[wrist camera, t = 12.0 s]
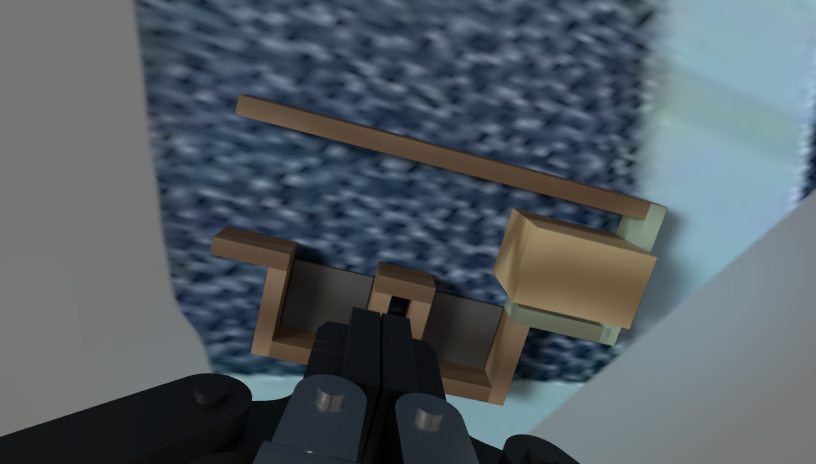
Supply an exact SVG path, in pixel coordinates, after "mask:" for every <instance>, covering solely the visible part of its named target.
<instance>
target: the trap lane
mask: <svg viewBox="0 0 816 464" xmlns="http://www.w3.org/2000/svg"><path fill="white" fill-rule="evenodd" d="M236 114H237V115H240V116H244V117H248V118H252V119H256V120H260V121H264V122H267V123H271V124H275V125H279V126H283V127H287V128H291V129H294V130H298V131H302V132H306V133H310V134H314V135H318V136H321V137H325V138H329V139H333V140H337V141H341V142H345V143H348V144H352V145H356V146H360V147H364V148H368V149H372V150H375V151H379V152H383V153H387V154H391V155H395V156H399V157H402V158H406V159H410V160H414V161H418V162H422V163H426V164H429V165H433V166H437V167H441V168H445V169H449V170H453V171H456V172H460V173H464V174H468V175H472V176H476V177H480V178H483V179H487V180H491V181H495V182H499V183H503V184H507V185H510V186H514V187H518V188H522V189H526V190H530V191H534V192H537V193H541V194H545V195H549V196H553V197H557V198H561V199H564V200H568V201H572V202H576V203H580V204H584V205H588V206H591V207H595V208H599V209H603V210H607V211H611V212H615V213H618V214H622V215H623V216H622V219H621V221H620V224H619V227H618V230H617V232H616V235H618V236H620V237H622V238H623V239H625V240H627V241H629V242H631V243H632V244H634V245H636V246H638V247H639V248H641V249H643V250H645V251H647V252H648V253H650V252H651V250H652V247H653V244H654V242H655V239H656V237H657V234H658V231H659V229H660V226H661V224H662V221H663V219H664V216H665V213H666V211H667V207H665V206H662V205H659V204H656V203H654V202H651V201H648V200H645V199H642V198H638V197H634V196H630V195H626V194H623V193H619V192H615V191H611V190H608V189H604V188H600V187H596V186H592V185H589V184H585V183H581V182H577V181H573V180H570V179H566V178H562V177H558V176H555V175H551V174H547V173H543V172H539V171H536V170H532V169H528V168H524V167H520V166H517V165H513V164H509V163H505V162H502V161H498V160H494V159H490V158H486V157H483V156H479V155H475V154H471V153H468V152H464V151H460V150H456V149H452V148H449V147H445V146H441V145H437V144H433V143H430V142H426V141H422V140H418V139H415V138H411V137H407V136H403V135H399V134H396V133H392V132H388V131H384V130H380V129H377V128H373V127H369V126H365V125H362V124H358V123H354V122H350V121H346V120H343V119H339V118H335V117H331V116H327V115H324V114H320V113H316V112H312V111H309V110H305V109H301V108H297V107H293V106H290V105H286V104H282V103H278V102H275V101H271V100H267V99H263V98H259V97H256V96H252V95H239V99H238V105H237V110H236ZM296 247H297V242H293V241H289V240H285V239H280V238H276V237H272V236H268V235H263V234H259V233H255V232H251V231H246V230H242V229H238V228H234V227H229V226H227V227H226V228H224V229H223V230H222V231H221V232H219V233H218V234H217V235H215V236H214V238H213V244H212V250H211V254H212V255H217V256H221V257H226V258H230V259H234V260H239V261H243V262H248V263H252V264H256V265H261V266H265V267H269V268H268V273H267V278H266V282H265V287H264V292H263V297H262V302H261V306H260V311H259V316H258V321H257V326H256V330H255V335H254V340H253V345H252V350H251V353H252V354H257V355H262V356H267V357H272V358H276V359H281V360H286V361H291V362H296V363H300V364H305V365H307V364H308V360H309V356H310V353H311V350H312V346H313V342H314V339H315V335H316V332H317V328H318V327H320V326H321V325H323V324H324V323H326V322H327V321H332V322H337V323H342V324H347V325H348V323H349V319H350V315H351V311H352V307H357V308H362V309H366V306H367V302H368V298H369V294H370V290H371V286H372V283H373V279H374V276H369V275H365V274H361V273H356V272H352V271H348V270H343V269H339V268H335V267H330V266H326V265H322V264H317V263H313V262H309V261H304V260H300V259H296V258H295V261H294V256H295V252H296ZM293 261H294V266H293ZM292 266H293V270H292ZM291 270H292V275H291ZM290 275H291V279H290ZM289 279H290V284H289ZM288 284H289V288H288ZM287 288H288V293H287ZM435 290H436V287H435V283H434V280H433V277H432V274H429V273H425V272H421V271H417V270H412V269H408V268H404V267H400V266H395V265H391V264H387V263H383V262H379V264H378V268H377V271H376V275H375V279H374V283H373V287H372V291H371V294H370V298H369V302H368V306H367V310H371V311H376V312H380V317H381V314H382V313H386V314H387V311H388V307H389V304H390V300H391V296H397V297H401V298H405V299H408V301H407V305H406V308H405V312H404V315H403V317H404V318H409V319H410V323H411V331H412V338H414V339H418V340H423V341H427V343H428V344H429V345H430V346H431V347H432V348H433V350H434V351H435V352H436V354H437V359H438V364H439V365H438V366H439V368H440V373H441V374H440V376H441V378H442V383H443V387H444V392H445V394H449V395H454V396H459V397H463V398H468V399H473V400H478V401H483V402H487V403H492V404H497V405H502V406H503V404H504V401H505V398H506V395H507V393H508V390H509V387H510V384H511V381H512V378H513V375H514V372H515V369H516V366H517V363H518V360H519V358H520V355H521V352H522V349H523V346H524V343H525V340H526V337H527V334H528V331H529V328H530V327H533V328H537V329H541V330H546V331H550V332H555V333H559V334H563V335H568V336H572V337H577V338H581V339H585V340H590V341H594V342H598V343H603V344H607V345H612V346H614V345H615V342H616V340H617V337H618V335H619V332H620V330H621V327H617V326H613V325H609V324H604V323H600V322H596V321H591V320H587V319H583V318H578V317H574V316H570V315H565V314H561V313H557V312H553V311H548V310H544V309H540V308H535V307H531V306H527V305H522V304H518V303H514V302H512V300H511V299H510V297H509V296H508V295H507V298H506V302H505V305H504V308H503V306H499V305H495V304H490V303H486V302H482V301H477V300H473V299H469V298H464V297H460V296H456V295H452V294H447V293H443V292H439V291H435ZM286 293H287V298H286V302H285V297H286ZM284 302H285V307H284ZM283 307H284V311H283ZM282 311H283V316H282ZM281 316H282V320H281ZM280 320H281V323H280Z"/></svg>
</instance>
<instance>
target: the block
mask: <svg viewBox="0 0 816 464" xmlns="http://www.w3.org/2000/svg"><path fill="white" fill-rule="evenodd" d="M656 260H657V257H656V256H654V255H652V254H650V253H648V252H647V251H645V250H643V249H641V248H639V247H638V246H636V245H634V244H632V243H631V242H629V241H627V240H625V239H623V238H622V237H620V236H618V235H616V234H614V233H610V232H606V231H602V230H598V229H594V228H590V227H586V226H582V225H578V224H574V223H570V222H566V221H562V220H558V219H555V218H551V217H547V216H543V215H539V214H535V213H531V212H527V211H523V210H519V209H515V208H513V210H512V213H511V216H510V219H509V222H508V226H507V229H506V232H505V235H504V238H503V241H502V245H501V248H500V251H499V254H498V257H497V260H496V264H495V267H494V270H493V273H494V275H495V276H496V278H497V279H498V281H499V282H500V284H501V285H502V287H503V288H504V290H505V291H506V293H507V294H508V296H509V297H510V299H511V300H512V302H514V303H518V304H522V305H527V306H531V307H535V308H540V309H544V310H548V311H553V312H557V313H561V314H565V315H570V316H574V317H578V318H583V319H587V320H591V321H596V322H600V323H604V324H609V325H613V326H617V327H621V328H626V329H630V326H631V324H632V321H633V319H634V316H635V313H636V311H637V308H638V306H639V303H640V301H641V298H642V296H643V293H644V291H645V288H646V285H647V283H648V280H649V278H650V275H651V273H652V270H653V268H654V265H655V263H656Z"/></svg>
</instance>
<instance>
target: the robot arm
mask: <svg viewBox="0 0 816 464" xmlns="http://www.w3.org/2000/svg"><path fill="white" fill-rule="evenodd" d="M438 365H439V364H438V359H437V354H436V352H435V351H434V350H433V348H432V347H431V346H430V345H429V344H428V343H427V341H423V340H418V339H414V338H412V331H411V323H410V319H409V318H404V317H400V316H395V315H390V314H386V313H382V314H381V317H380V312H376V311H371V310H367V309H362V308H357V307H352V311H351V315H350V319H349V323H348V325H347V324H342V323H337V322H332V321H327V322H326V323H324V324H323V325H321V326H320V327H318V328H317V332H316V335H315V339H314V342H313V346H312V350H311V353H310V356H309V360H308V364H307V367H306V371H305V374H304V378H303V379H302V380H301V381H300V382H299V383H298V384H297V385H296V387H295V389H294V392H293V394H291V395H290V396H287V397H285V398H281V399H277V400H269V401H252V394H251V391H250V389H249V388H248V387H247V386H246V385H245V384H244V383H243V382H241V381H240V380H238V379H236V378H233V377H230V376H227V375H222V374H215V373H204V374H196V375H191V376H188V377H184V378H182V379H178V380H175V381H172V382H169V383H166V384H163V385H160V386H157V387H153V388H150V389H147V390H144V391H141V392H138V393H135V394H132V395H129V396H125V397H123V398H119V399H116V400H113V401H110V402H107V403H104V404H101V405H98V406H94V407H91V408H88V409H85V410H82V411H79V412H76V413H73V414H70V415H66V416H63V417H61V418H57V419H54V420H51V421H48V422H45V423H42V424H39V425H35V426H32V427H29V428H26V429H23V430H20V431H17V432H14V433H11V434H8V435H4V436H1V437H0V464H580V463H578V462H577V461H576V460H574V459H573V458H572V457H570V456H569V455H567V454H566V453H565V452H564V451H563V450H561V449H560V448H558V447H557V446H555V445H554V444H552V443H550V442H548V441H546V440H544V439H541V438H539V437H535V436H532V435H524V434H519V435H514V436H511V437H509V438H508V439H507V440H506V442H505V445H504V447H503V450H500V449H498V448H495V447H493V446H490V445H488V444H486V443H483V442H481V441H479V440H477V439H475V438H473V437H471V436H469V434H468V431H467V428H466V425H465V423H464V420H463V418H462V416H461V414H460V413H459V411H458V410H457V409H456V408H455V407H454V406H452V405H451V404H450V403H448V402H447V401H446V397H445V392H444V387H443V383H442V378H441V376H440V374H441V373H440V368H439V366H438Z"/></svg>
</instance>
